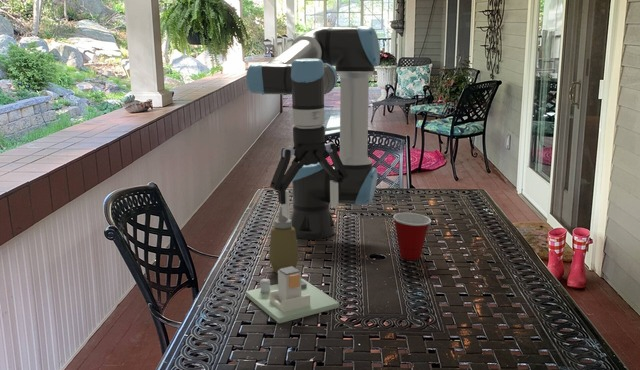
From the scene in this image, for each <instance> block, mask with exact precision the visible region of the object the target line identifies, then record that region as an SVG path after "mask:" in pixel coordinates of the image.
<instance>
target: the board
mask: <svg viewBox="0 0 640 370" xmlns="http://www.w3.org/2000/svg"><path fill="white" fill-rule="evenodd" d="M259 285H260V287H259V288H255V289H250V290H246V291H245V297H247V298H248V300H250V301H252V302H253V303H254V304H255V305H256V306H257V307H258V308H259V309H261V310H262V311H263V312H265V314H266V315H268V316H269V317H270V318H272V319H273V320H274V321H276V323H278V324H283V323H286V322H289V321H293V320H297V319H301V318H305V317H308V316H311V315H315V314H320V313H323V312H327V311H331V310H335V309H339V308H340V302H338V301H337V300H336V299H334V298H333V297H331V296H330V295H328V294H327V293H326V292H324V291H322V290H320V289H319V288H318V287H316V286H314V284H311V283H310V282H308V281H307V280H305V279H304V278H302V277H301V296H299V297H295V298H291V299H287V300H283V301H282V303H280V302H279V297H278V283H276V284H271V279H269V278H261V279H260V284H259Z"/></svg>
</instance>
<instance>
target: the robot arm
mask: <svg viewBox="0 0 640 370" xmlns="http://www.w3.org/2000/svg"><path fill="white" fill-rule="evenodd" d="M380 49H381V48H380V42H379V37H378V34H377V32H376V30H375V28H373V27H372V26H365V25H356V26H355V25H353V26H352V25H349V26H348V25H347V26H320V27H317V28H313V29H312V30H309V31H307V32H305V33H303V34H301V35H299V36H298V37H296V38H295V39H294V40H293V41H292V43H291V45H290V47H288V48H287V49H285V50H284V51H283V52H281V53H279V54H278V55H277V56H276V57H274V58H272V59H271V60H270V61H268V62H267V63H260V62H259V63H253V64H250V65H249V66H248V68H247V71H246V77H245V78H246V86H247V89H248V91H249V92H250V93H251V94H256V95H258V94H259V95H262V96H263V95H291V103H292V107H291V109H292V111H291V113H292V124H293V125H294V126H293V128H292V141H293V148H285V147H283V148H282V149H281V151H280V152H281V153H280V159H279V162H278V164H277V167H276V169H275V172H274V174H273V177H272V179H271V182H270V183H269V184H270V185H269V187H270V188H271V189H273V190H275V191H277V195H278V196H277V197H278V198H277V200H278V203H279V204H280V205H281V207H282V215H283V216H285V217H286V218H288V219H291V220H292V227H294V228H295V231H296V239H299V240H301V239H302V240H320V239H321V240H322V239H326V238H329V237H331V236H333V235H334V234H335V232H336V229H335V228H336V226H335V222H334V220H333V216H332V214H331V210H330V207H332V208H334V209H339V204H342V205H343V204H345V205H355V206H358V205H363V206H364V205H369V204H370V203H371V202H372V200H373V198H374V196H375V192H376V188H377V183H378V169H377V168H376V167H375V166H374V167H373V161H372V160H371V159H370V158H369V155H368V146H369V145H368V143H369V142H368V140H369V139H368V138H369V135H368V133H369V132H368V131H369V95H370V94H369V93H370V92H369V89H370V87H369V86H370V85H369V84H370V82H369V81H370V77H371V76H372V75H373V74H374V73H375V68H376V67H378V66H379V65H380V63H381V61H380V60H381V51H380ZM338 77H339V78H340V83H339V85H340V89H339V90H340V92H339V93H340V97H339V99H340V100H339V101H340V102H339V105H340V107H339V109H340V110H339V112H340V113H339V154H338V149H337V143H335V142H331V141H328V142H327V143H325V141H326V127H325V126H324V124H325V95H327V94H329V93H331V92H332V90H333V89H334V88H335V87H336V85H337V84H338V79H339V78H338ZM326 152H327V153H328V155H329V158H330V160H331V162H332V164H333V165H331V164H330V162H329V160H328V159H326V157H325V156H324V154H325V153H326ZM293 156H294V158H293ZM291 158H293V160H292V161H291ZM290 161H291V164H290ZM289 164H290V166H289ZM291 183H292V213H291V212H290V211H291V208H290V207H291V205H290V190H288V188H289V186H290V185H291Z"/></svg>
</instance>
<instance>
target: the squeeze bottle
mask: <svg viewBox="0 0 640 370" xmlns="http://www.w3.org/2000/svg"><path fill="white" fill-rule="evenodd" d="M273 222H274V223H273V224H274V227H272V228H271V230H270V240H269V241H270V242H269V254H268V255H269V256H268V259H269V262H270V265H271V267H272V269H273V272H274V273H276V274H278V270H279V269H281V268H286V267H291V266H293V267H295V268H296V269H297V265H298V262H299V258H300V256H299V247H298V241H297V239H298V238H296V231H295V228H294V227H292V220H291V219H290V218H286V217H285V216H283V215H282V206H280V208H279V213H278V218H276V219H275V220H274V221H273Z"/></svg>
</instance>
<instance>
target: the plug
mask: <svg viewBox="0 0 640 370" xmlns="http://www.w3.org/2000/svg"><path fill="white" fill-rule="evenodd" d="M301 278H302V272H301V271H300V270H299V269H298V268H297V267H296V268H295V267H293V266H291V267H286V268H281V269H279V270H278V273H277V284H278V297H279V302H280V303H282V301H283V300H287V299H291V298H295V297H299V296H301Z"/></svg>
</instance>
